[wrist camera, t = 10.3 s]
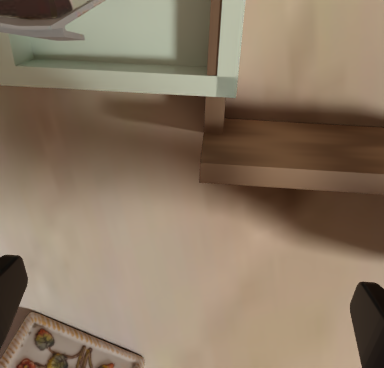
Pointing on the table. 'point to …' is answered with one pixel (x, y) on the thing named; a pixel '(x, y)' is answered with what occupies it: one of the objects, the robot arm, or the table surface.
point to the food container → (43, 17)
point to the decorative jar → (62, 348)
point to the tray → (132, 50)
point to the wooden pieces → (285, 146)
